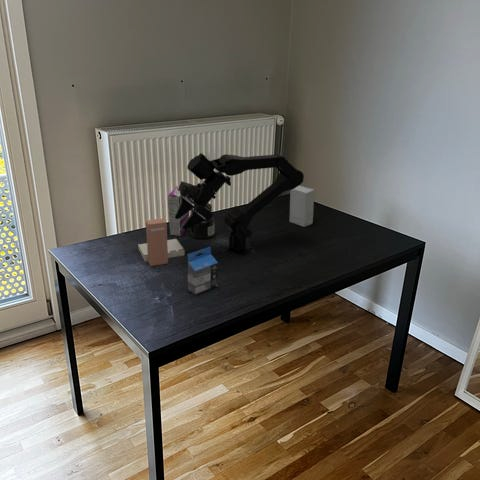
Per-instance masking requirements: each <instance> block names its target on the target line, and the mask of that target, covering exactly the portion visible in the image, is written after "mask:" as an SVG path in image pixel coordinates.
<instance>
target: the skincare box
mask: <svg viewBox="0 0 480 480" xmlns="http://www.w3.org/2000/svg"><path fill="white" fill-rule="evenodd" d="M289 191H290V195H289V196H290V197H289V199H290V200H289V220H288V221H289V223H292V224H295V225H298V226H300V227H303V228H305V227H307V226H311V225H312V224H313V221H314V205H315V204H314V203H315V189H313V188H311V187H310V188H309V187H306V186H303V185H299V186H297V187H296V188H294V189H292V190H289Z"/></svg>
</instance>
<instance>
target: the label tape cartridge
mask: <svg viewBox="0 0 480 480" xmlns="http://www.w3.org/2000/svg"><path fill="white" fill-rule="evenodd" d="M211 249H212V247H211V246H208V247H205V248H201V249H199V250H196V251H193V252H190V253H187V291H189V292H190V293H192V294H193V295H198V294H201V293H203V292H205V291H208V290H211V289H213V288H215V287H218V286H219V282H218V281H219V277H218V276H219V262H218V261H217V260H216V258H215V257H214V255H212V252H211ZM199 254H200V255H199Z"/></svg>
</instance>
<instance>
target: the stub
mask: <svg viewBox="0 0 480 480" xmlns="http://www.w3.org/2000/svg"><path fill="white" fill-rule="evenodd" d="M167 224H168V223H167V221H166V219H165V218H156V219H149V220H145V231H146V243H147V251H148V261H147V263H148V264H149V266H150V267H154V266H160V265H165V264H169V258H168V247H167V240H168V228H167V227H168V225H167Z"/></svg>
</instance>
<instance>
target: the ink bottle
mask: <svg viewBox="0 0 480 480" xmlns="http://www.w3.org/2000/svg"><path fill="white" fill-rule="evenodd" d="M207 206H208V207H207V208H208V209H209V210H210V211H211V212H212V213H213V207H212V204H211V203H208V204H207ZM206 220H207V219H206ZM190 231H191V232H190V234H191V236H192V237H193V238H195V239H199V240H206V239H212V238H213V237H214V236H215V218H214V216H213V217H212V218H211V220H210V221H208V220H207V221H206V222H205V221H204V222H201V223H199V224H196V225H194V226H192V227H190Z"/></svg>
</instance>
